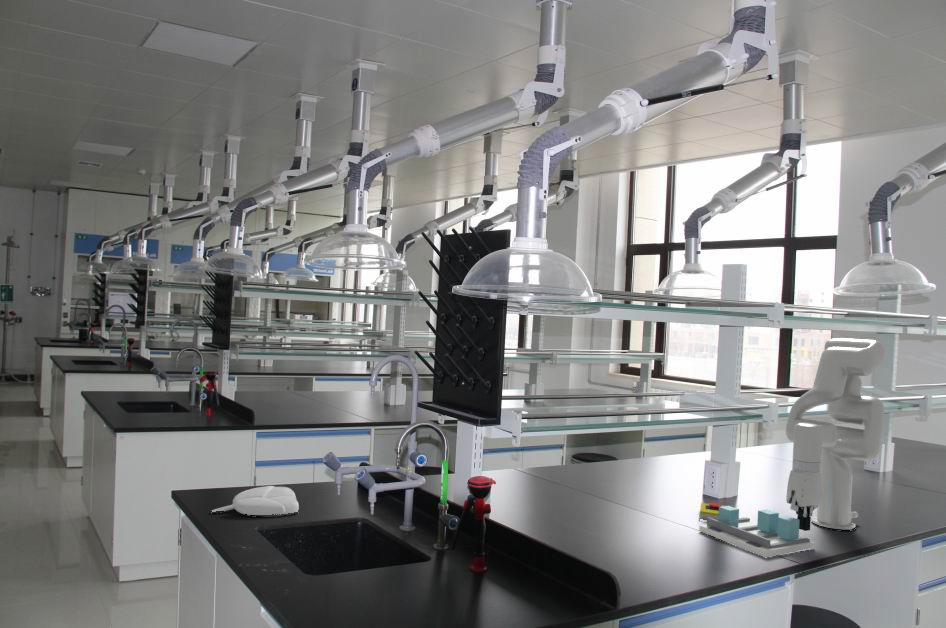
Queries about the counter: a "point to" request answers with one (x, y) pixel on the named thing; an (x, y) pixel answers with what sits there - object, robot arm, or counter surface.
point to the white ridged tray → (754, 537)
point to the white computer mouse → (264, 501)
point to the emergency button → (709, 511)
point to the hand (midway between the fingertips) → (803, 529)
